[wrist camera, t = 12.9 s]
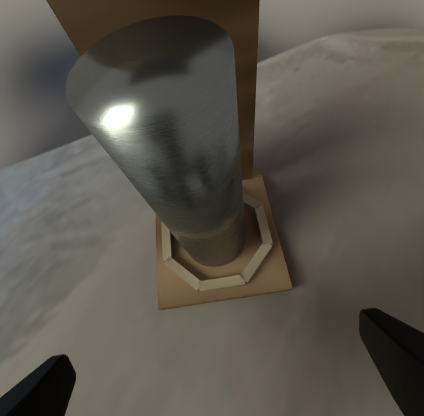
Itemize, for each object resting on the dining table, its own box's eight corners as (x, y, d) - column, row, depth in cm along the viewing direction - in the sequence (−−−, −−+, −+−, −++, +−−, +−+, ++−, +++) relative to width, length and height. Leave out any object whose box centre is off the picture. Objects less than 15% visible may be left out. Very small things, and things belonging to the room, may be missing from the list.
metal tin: (257, 249, 16) (268, 74, 5) (197, 278, 16) (78, 156, 5) (228, 198, 18) (194, -1, 7) (175, 223, 18) (56, 53, 7)
